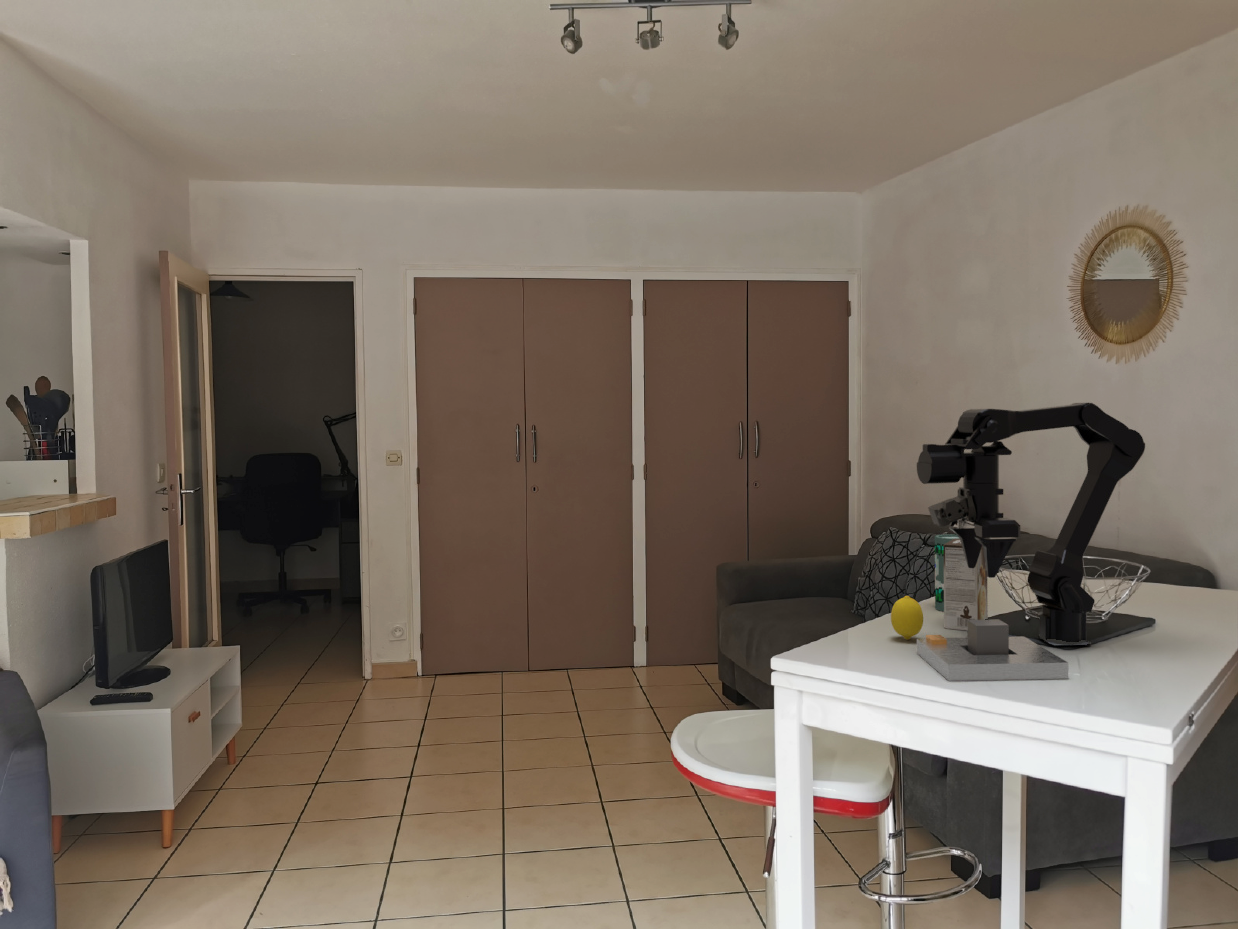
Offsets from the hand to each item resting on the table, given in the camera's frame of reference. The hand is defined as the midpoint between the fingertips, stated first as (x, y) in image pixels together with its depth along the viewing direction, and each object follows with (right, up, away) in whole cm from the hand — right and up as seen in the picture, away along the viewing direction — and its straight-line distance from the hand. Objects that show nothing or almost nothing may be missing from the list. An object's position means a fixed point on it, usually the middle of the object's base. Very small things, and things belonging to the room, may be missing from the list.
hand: (981, 572), depth 156 cm
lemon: (-10, -13, +7) cm, 18 cm away
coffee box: (+4, -12, +17) cm, 21 cm away
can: (+6, -11, +31) cm, 33 cm away
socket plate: (-3, -14, -10) cm, 17 cm away
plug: (-3, -14, -10) cm, 17 cm away
